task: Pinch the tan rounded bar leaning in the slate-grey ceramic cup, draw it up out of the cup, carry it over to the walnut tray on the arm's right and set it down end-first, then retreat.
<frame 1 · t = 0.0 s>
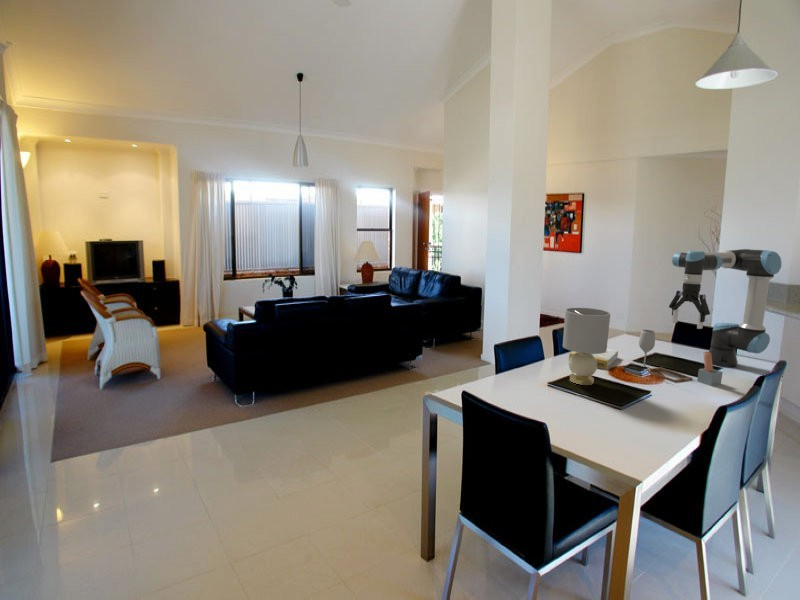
hand: (686, 325, 240), 28 cm above the table, fingers open, 13 cm apart
tan rounded bar: (710, 382, 238), point 1 cm above the table, touching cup
tray: (666, 377, 248), on the table
lamp: (581, 382, 238), on the table
cereal box: (593, 361, 277), on the table
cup: (708, 385, 238), on the table
wineglass: (643, 369, 262), on the table
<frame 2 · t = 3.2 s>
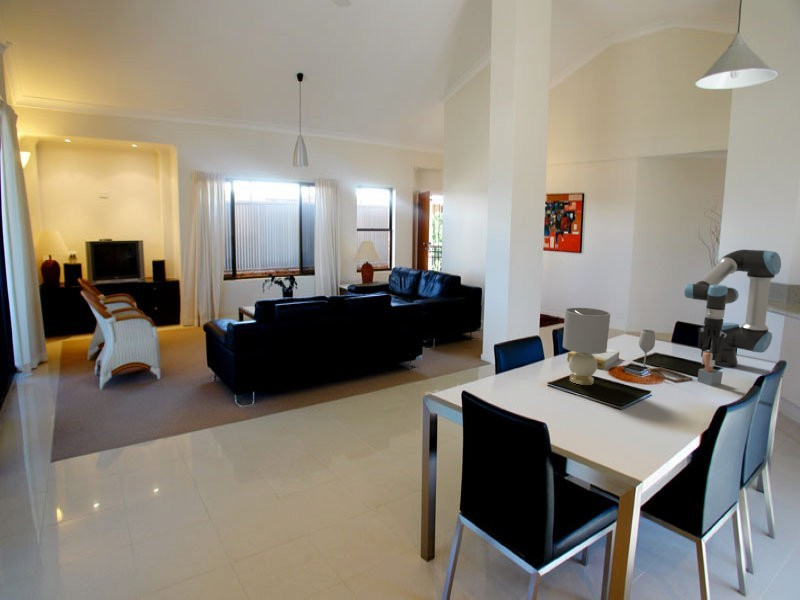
hand: (707, 365, 235), 11 cm above the table, fingers closed on tan rounded bar, 3 cm apart
tan rounded bar: (710, 382, 238), point 1 cm above the table, touching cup, gripper
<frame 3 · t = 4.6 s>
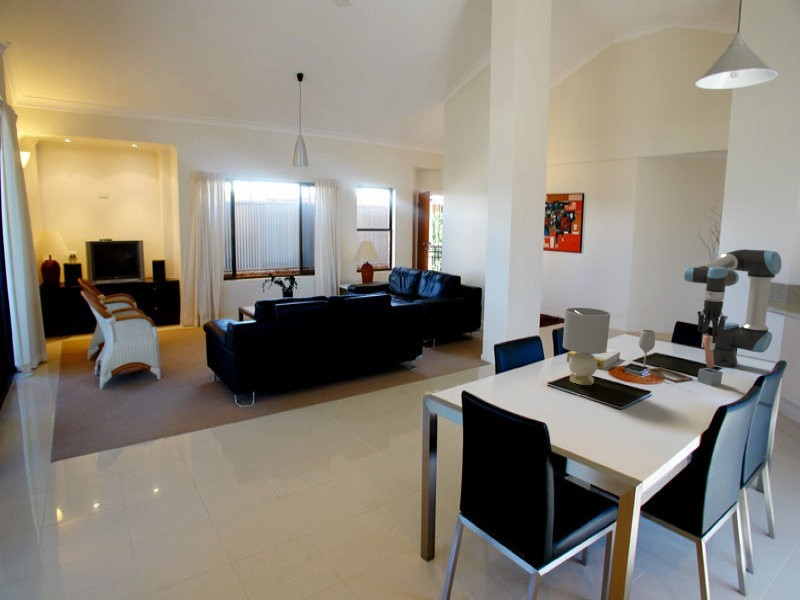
hand: (707, 348, 233), 19 cm above the table, fingers closed on tan rounded bar, 3 cm apart
tan rounded bar: (710, 366, 236), point 10 cm above the table, touching gripper
everything else where it was.
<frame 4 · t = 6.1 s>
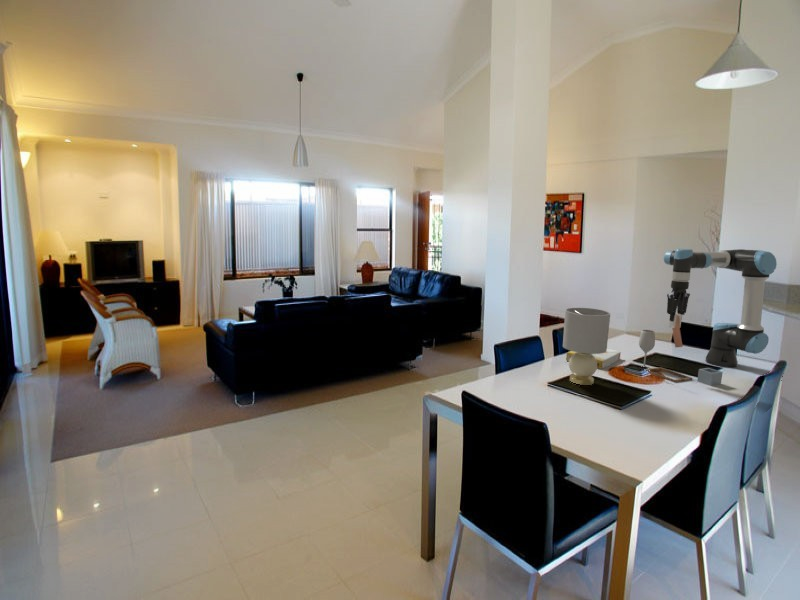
hand: (674, 327, 242), 27 cm above the table, fingers closed on tan rounded bar, 3 cm apart
tan rounded bar: (678, 347, 241), point 17 cm above the table, touching gripper
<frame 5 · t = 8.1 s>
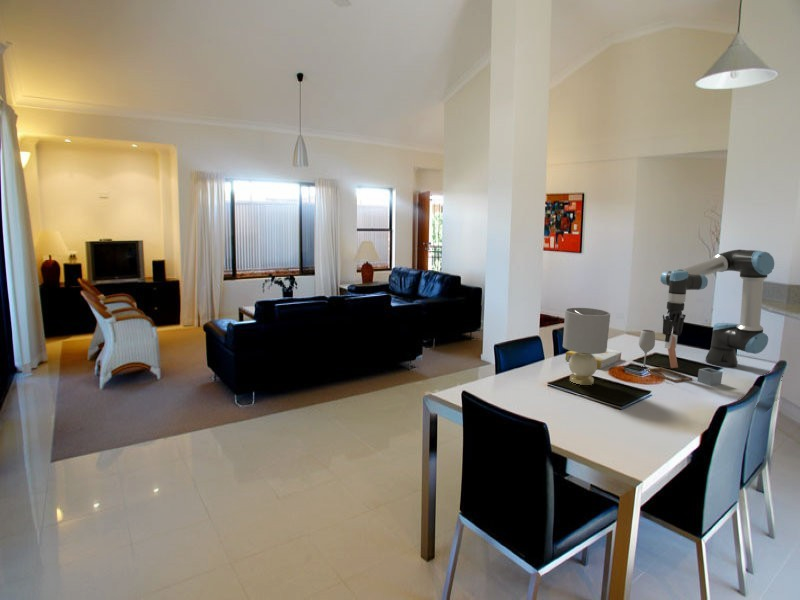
hand: (670, 347, 245), 16 cm above the table, fingers closed on tan rounded bar, 3 cm apart
tan rounded bar: (674, 367, 243), point 7 cm above the table, touching gripper
when the fingers open (12 cm above the table, at t = 9.2 s): tan rounded bar moves 2 cm and tips over, resting on tray.
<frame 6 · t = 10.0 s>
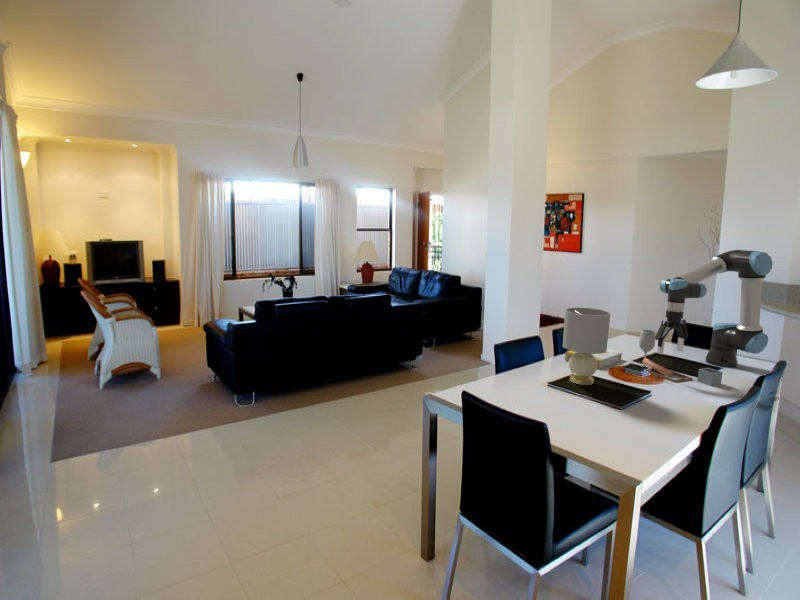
hand: (670, 351, 245), 14 cm above the table, fingers open, 13 cm apart
tan rounded bar: (670, 374, 246), point 2 cm above the table, tilted 64°, touching tray
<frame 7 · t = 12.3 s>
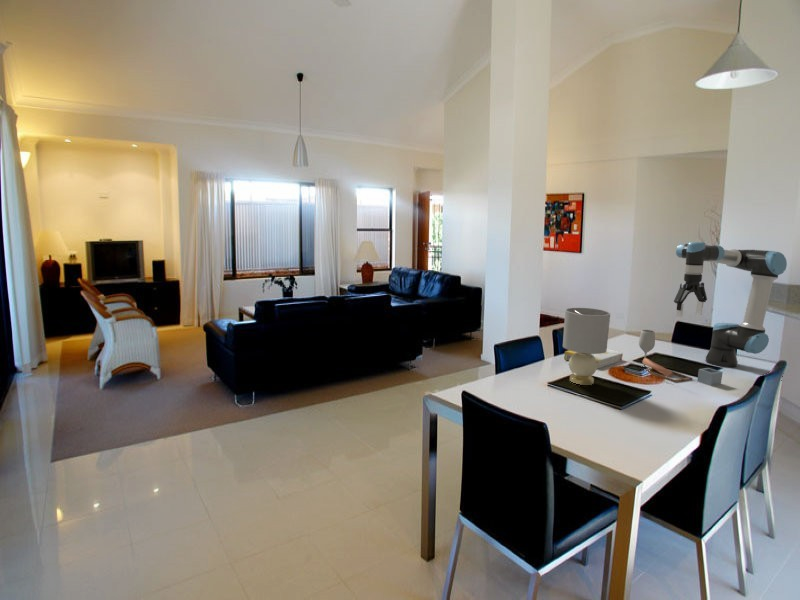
hand: (689, 315, 244), 32 cm above the table, fingers open, 13 cm apart
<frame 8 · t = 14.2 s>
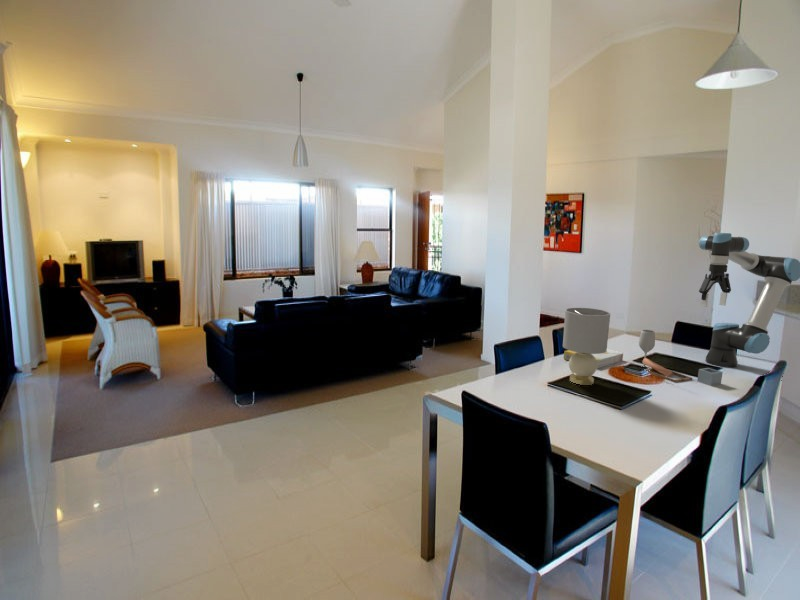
hand: (713, 305, 247), 37 cm above the table, fingers open, 13 cm apart
at the end: tan rounded bar inside the target area on the tray (1.6 cm from its centre), point 2.4 cm above the tray's base; the gripper is holding nothing; tan rounded bar moved 17.5 cm from its start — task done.
